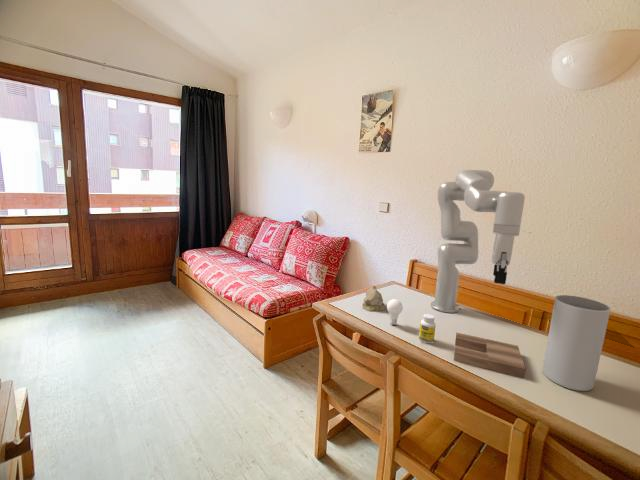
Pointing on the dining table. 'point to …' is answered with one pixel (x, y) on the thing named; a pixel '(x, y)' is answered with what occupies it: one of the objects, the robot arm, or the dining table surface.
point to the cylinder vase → (575, 341)
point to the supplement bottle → (427, 329)
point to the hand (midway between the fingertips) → (498, 279)
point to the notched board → (489, 354)
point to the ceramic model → (373, 300)
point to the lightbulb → (394, 310)
